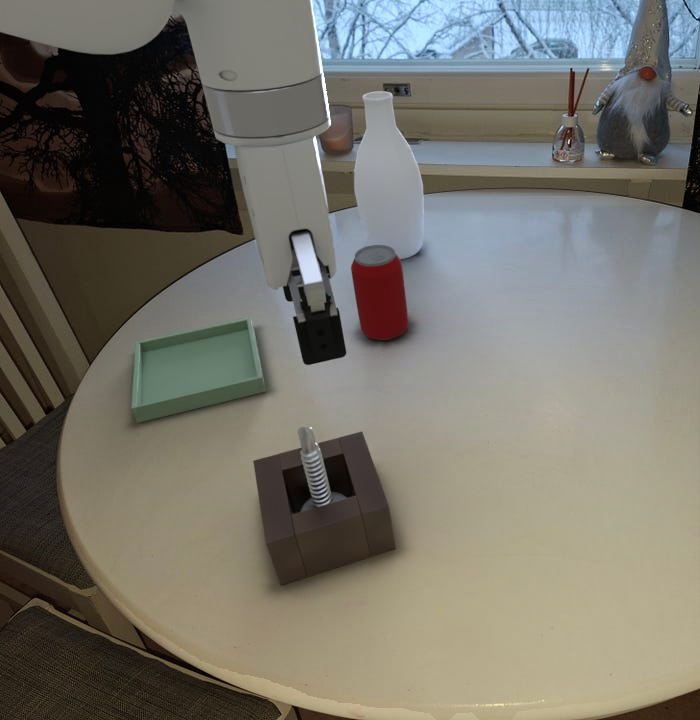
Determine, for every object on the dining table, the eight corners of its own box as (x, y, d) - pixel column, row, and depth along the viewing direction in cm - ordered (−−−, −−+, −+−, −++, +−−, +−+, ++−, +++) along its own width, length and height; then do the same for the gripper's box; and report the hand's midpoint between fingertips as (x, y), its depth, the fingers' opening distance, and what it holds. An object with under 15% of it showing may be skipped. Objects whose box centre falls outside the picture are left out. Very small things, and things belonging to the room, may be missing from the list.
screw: (362, 525, 68) (320, 552, 65) (336, 498, 70) (295, 523, 68) (342, 427, 60) (293, 454, 57) (313, 402, 63) (266, 426, 60)
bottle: (378, 231, 122) (358, 83, 107) (437, 237, 119) (425, 86, 104) (352, 260, 113) (327, 104, 98) (415, 267, 111) (398, 107, 96)
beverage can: (392, 312, 100) (382, 237, 93) (418, 331, 95) (410, 254, 88) (352, 329, 96) (339, 253, 89) (378, 349, 92) (366, 271, 85)
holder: (280, 586, 62) (265, 543, 59) (266, 501, 70) (253, 460, 67) (396, 548, 65) (389, 506, 61) (369, 472, 73) (362, 431, 70)
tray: (137, 423, 81) (131, 408, 80) (141, 355, 93) (135, 341, 92) (266, 391, 85) (262, 377, 84) (254, 330, 97) (250, 316, 96)
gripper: (203, 82, 50) (255, 285, 60) (216, 156, 37) (280, 401, 47) (306, 70, 52) (340, 269, 62) (353, 136, 39) (386, 375, 49)
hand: (314, 326), depth 54 cm, fingers open, 9 cm apart
